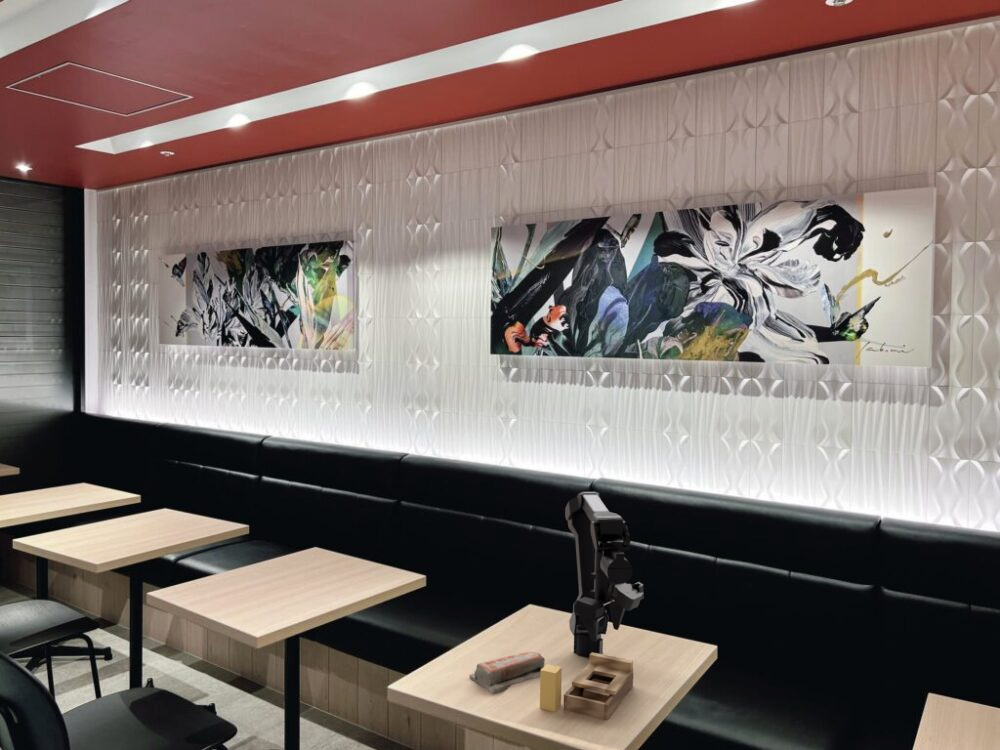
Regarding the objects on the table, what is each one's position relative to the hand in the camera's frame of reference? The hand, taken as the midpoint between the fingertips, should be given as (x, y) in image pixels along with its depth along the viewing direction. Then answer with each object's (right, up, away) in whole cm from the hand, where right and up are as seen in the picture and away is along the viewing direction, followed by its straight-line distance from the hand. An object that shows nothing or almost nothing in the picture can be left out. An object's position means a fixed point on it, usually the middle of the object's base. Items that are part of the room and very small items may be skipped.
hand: (605, 635), depth 184 cm
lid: (-1, -8, -6) cm, 10 cm away
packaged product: (-22, -12, +4) cm, 25 cm away
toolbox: (-2, -12, -8) cm, 15 cm away
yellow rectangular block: (-14, -12, -12) cm, 22 cm away
